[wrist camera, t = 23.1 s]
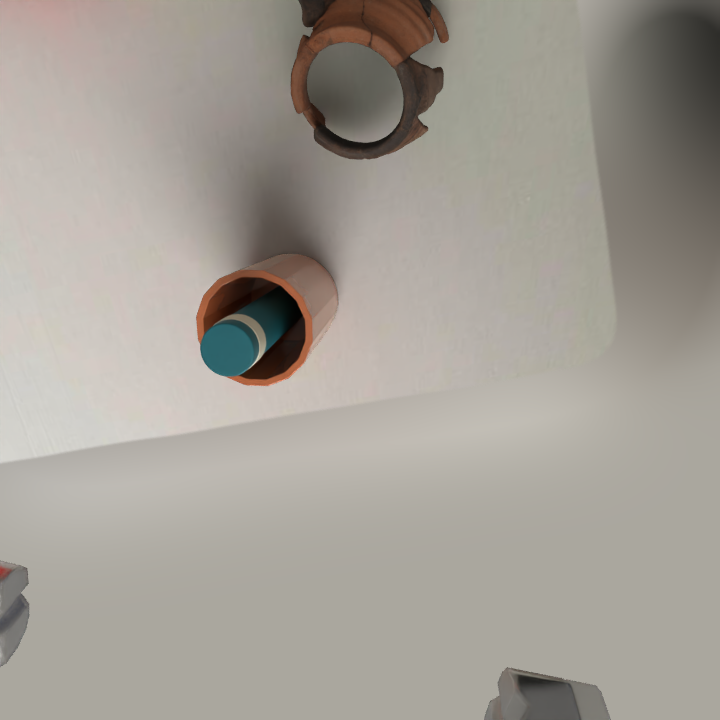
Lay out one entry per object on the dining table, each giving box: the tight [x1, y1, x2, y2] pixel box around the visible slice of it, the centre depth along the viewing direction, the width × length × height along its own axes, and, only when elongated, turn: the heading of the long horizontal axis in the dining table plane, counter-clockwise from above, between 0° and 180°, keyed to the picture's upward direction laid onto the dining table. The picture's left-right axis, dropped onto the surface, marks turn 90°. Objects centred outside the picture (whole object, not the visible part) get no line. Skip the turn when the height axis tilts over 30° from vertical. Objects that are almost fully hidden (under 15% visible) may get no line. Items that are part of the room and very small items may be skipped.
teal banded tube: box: [200, 286, 303, 377], centre depth 34 cm, size 3×3×14 cm
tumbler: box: [196, 253, 338, 386], centre depth 37 cm, size 6×6×10 cm
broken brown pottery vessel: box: [291, 0, 449, 159], centre depth 35 cm, size 12×10×8 cm
